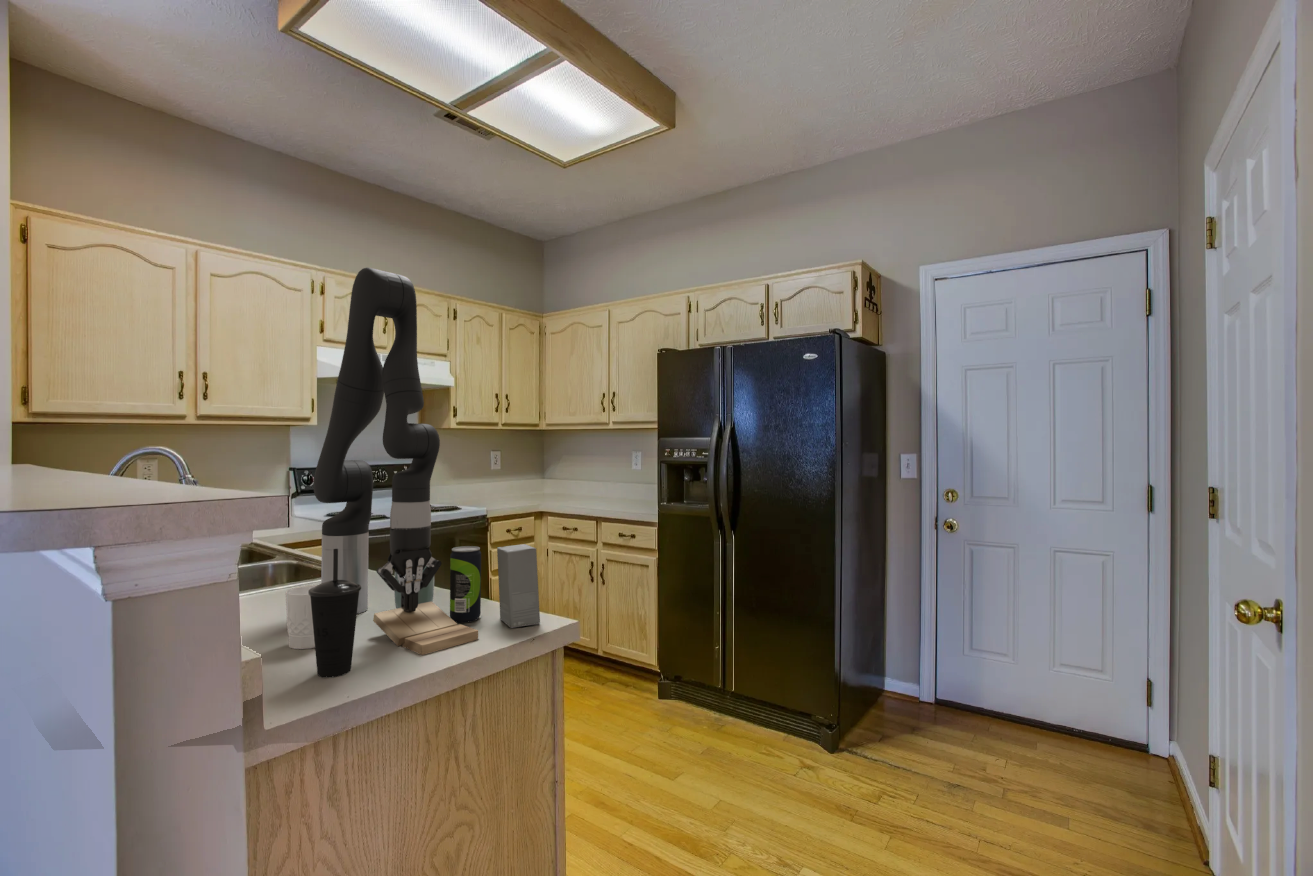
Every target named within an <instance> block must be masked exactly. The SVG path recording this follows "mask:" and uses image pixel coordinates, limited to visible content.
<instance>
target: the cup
mask: <svg viewBox="0 0 1313 876" xmlns="http://www.w3.org/2000/svg"><path fill="white" fill-rule="evenodd" d="M425 568H426V566H425ZM425 568H424V570H425ZM424 570H423V571H424ZM423 571H422V573H423ZM394 578H395V579H396V580H397V581H398V574H397V573H396V572H395V571H394ZM398 582H399V581H398ZM393 595H394V605H395V609H398V608H401V593H399V592H397V591H394V593H393ZM434 595H435V576H434V577H433V578H432V580H431V581H430V583H429V584H428V586H427V587H426V588H422V589H420V590H419V592H418V604H421V603H426V602H431V601H432V602H433V603H434Z"/></svg>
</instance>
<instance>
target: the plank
mask: <svg viewBox="0 0 1313 876" xmlns="http://www.w3.org/2000/svg"><path fill="white" fill-rule="evenodd" d="M372 622H374V623H375V624H376V625H377V627H379V629H380V630H381V631H382V632H384V634H385V635H386V636H387V637H388V638H389V639H390V640H391V641H392V642H393V643H394V644H395V645H396V646H397V647H402V644H405V638H408V637H412V636H416V635H420V634H424V633H428V632H432V631H436V630H440V629H444V628H448V627H451V626H455V625H458V622H455V621H454V620H452V619H451V618H450V615H448V614H447V613H445V611H443V610H442V609H441V608H440V607H439V606H437V604H435V603H434V601H433V602H432V601H431V602H426V603H421V604H418V607H417V608H416V611H414V612H409V613H407V612H405V611H404V610H403V609H402V608H398V609H396V608H393V609H390V610H383V611H380V612H379V611H378V612H375V613H373V620H372Z"/></svg>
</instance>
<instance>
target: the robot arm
mask: <svg viewBox="0 0 1313 876" xmlns="http://www.w3.org/2000/svg"><path fill="white" fill-rule="evenodd" d="M417 305H418V304H417V294H416V289H415V287H414V284H413V282H412V281H411V279H409V277H407V276H404V275H403V274H398V273H394V272H390V271H389V272H388V271H386V270H385V271H384V270H381V269H377V268H373V267H363V268H361V270H359V271H358V273H357V274H356V276H355V278H354V281H353V285H352V289H351V296H350V302H349V314H348V321H347V322H348V323H347V332H346V339H345V344H344V350H343V354H342V359H341V363H340V370H339V372H338V377H337V381H336V387H335V390H334V397H333V401H332V402H333V403H332V408H331V414H330V419H329V422H328V423H329V424H328V427H327V432H326V436H325V438H324V440H323V441H324V442H323V446H322V448H321V451H320V455H319V458H318V460H317V464H316V468H315V471H314V472H315V473H314V477H313V492H314V496H315V498H316V499H317V500H318V501H319V502H320V503H323V504H336V503H346V504H345V507H344V508H343V510H341V511H339V512H338V513H337V514H336V515H334V516H331V517H329V518H327V519H325V520H324V521H323V522H322V525H321V570H320V571H321V574H320V575H321V579H320V581H321V583H324V582H327V581H331V580H333V549H338V580H347V581H351V582H353V583H356V584H359V585H361V590H360V591H359V598H358V607H357V614H361V613H363V612H366V611H367V610H368V608H369V607H368V606H369V605H368V604H369V602H368V599H369V548H370V547H369V537H370V536H369V535H370V534H369V529H370V522H371V519H372V507H373V492H374V475H373V470H372V467H371V465H370V464H369V463H368V462H367V461H366V460H362V459H354V460H353V459H351V460H348V459H347V460H346V457H347V454H348V451H349V450H350V447H351V445H352V444H353V443H354V441H355V440H356V439H357V438H358V436H359V435H360V434H361V433H363V431H364V430H365V429H366V428H367V427H368V426H369V425H370V424H371V423H372V421H374V419H375V418H376V417H377V415H378V414H379V412H380V410H381V408H382V404H383V399H384V397H385V403H386V405H385V414H384V415H385V416H384V424H383V425H384V426H383V431H382V446H383V448H384V450H385V451H386V453H387V454H388V456H390V457H391V458H393V459H397V460H400V459H401V460H404V459H405V460H408V459H410V460H411V459H412V460H411V463H410V464H409V467H408V468H407V469H404V470H402V471H401V470H400V471H398V472H396V473H394V474H393V476H392V481H391V488H392V489H391V506H390V507H391V508H390V513H389V514H390V516H389V521H390V522H389V528H390V529H389V549H390V550H389V552H390V553H389V555H388V556H387V562H386V563H385V564H384V565H383V566H382V567H381V566H380V567H377V568H376V573H377V574H378V576H379V577H380V578H381V579H382V580H383V581H384V583H385V584H386V585H387V586H388V588H390V590H391V591H397V592H399V593H401V608H402V609H403V610H404V611H405V612H407V613H409V612H414V611H416V608H417V607H418V592H419V590H420V589H422V588H426V587H427V586H428V584H429V583H430V581H431V580H432V578H433V577H434V578H435V576H436V574H437V573H438V571H439V569H440V567H441V566H442V561H441V560H438V559H436V558H434V557H433V556H432V555H433V554H432V552H431V550H430V546H431V543H432V542H431V539H432V537H431V536H432V535H431V533H432V530H431V529H432V524H431V523H432V510H431V508H432V507H431V502H430V500H431V478H432V476H433V473H434V472H433V471H434V469H435V466H436V462H437V458H438V456H439V451H440V447H441V440H440V435H439V432H438V431H437V429H436V428H435V427H434V426H433V425H432V424H428V423H415V422H413V423H412V422H411V423H409V422H408V416H409V415H412V414H413V415H414V414H415V413H418V412H420V411H422V410H423V408H424V405H425V400H424V395H423V388H422V383H421V377H420V371H419V364H418V363H419V362H418V312H417V311H418V308H417ZM376 317H381V318H387V319H391V320H392V321H393V326H394V330H395V331H394V333H395V334H394V339H393V343H392V345H391V348H390V350H389V351H388V354H387V355H386V358H385V360H384V363H383V364H382V362H381V359H380V356H379V355H378V351H377V349H376V346H375V343H374V342H375V341H374V326H375V319H376ZM425 567H426V568H425ZM424 568H425V570H424ZM423 570H424V571H423ZM422 571H423V573H422ZM395 572H396V573H397V574H398V581H399V582H398V581H397V580H396V579H395V578H394V577H395V575H393V574H394V573H395ZM321 583H320V584H321Z"/></svg>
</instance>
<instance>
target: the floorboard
mask: <svg viewBox="0 0 1313 876" xmlns="http://www.w3.org/2000/svg"><path fill="white" fill-rule="evenodd" d="M477 640H479V630H478V629H475V628H472V627H470V626H467V625H464V624H462V623H459V624H457V625H455V626H451V627H448V628H444V629H440V630H436V631H432V632H428V633H424V634H420V635H416V636H412V637H408V638H405V644H402V645H401V647H403V648H405V649H407V650H409V651H412V652H415V653H416V654H419V655H421V656H423V655H427V654H430V653H434V652H437V651H442V650H445V649H448V648H453V647H456V646H459V645H462V644H466V643H470V642H474V641H477Z"/></svg>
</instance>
